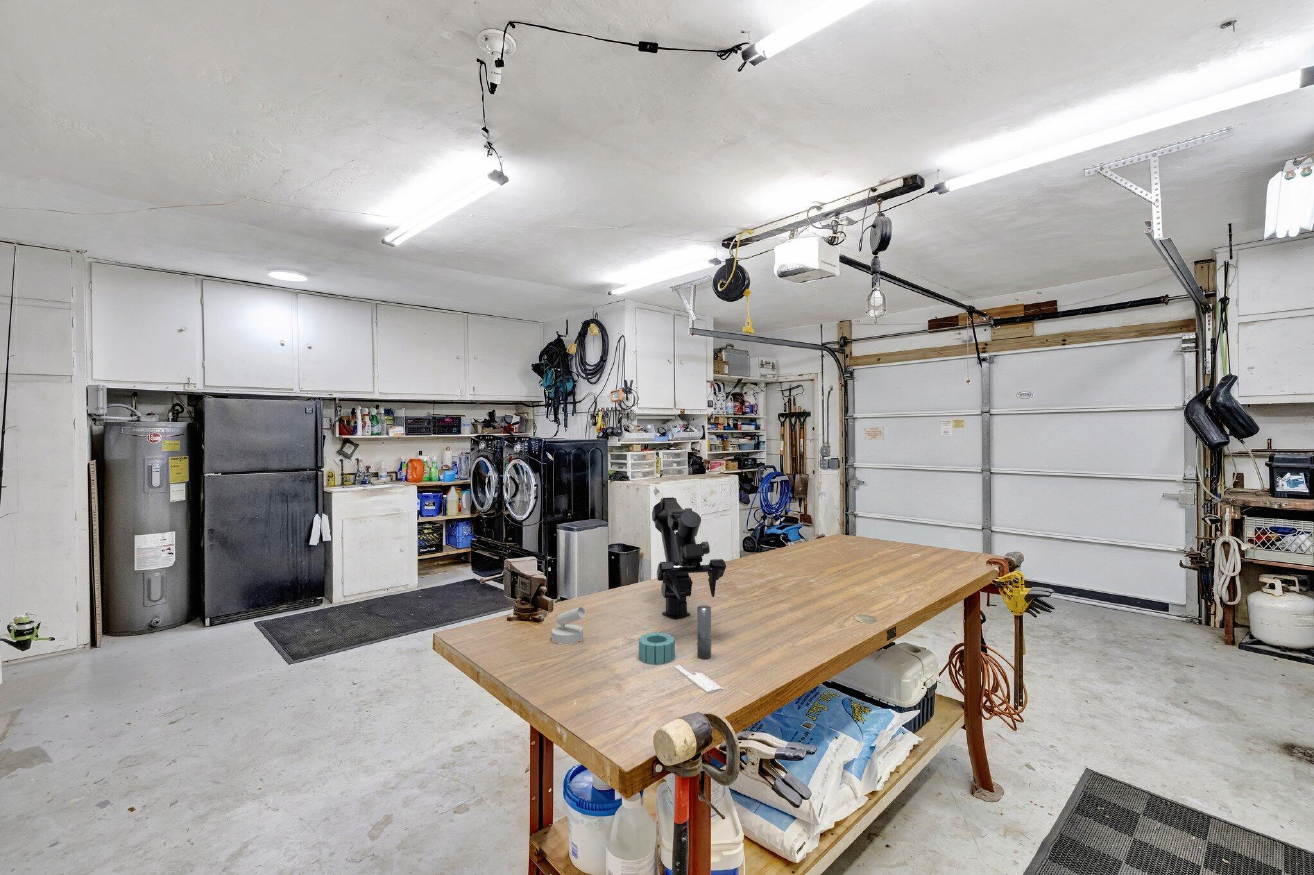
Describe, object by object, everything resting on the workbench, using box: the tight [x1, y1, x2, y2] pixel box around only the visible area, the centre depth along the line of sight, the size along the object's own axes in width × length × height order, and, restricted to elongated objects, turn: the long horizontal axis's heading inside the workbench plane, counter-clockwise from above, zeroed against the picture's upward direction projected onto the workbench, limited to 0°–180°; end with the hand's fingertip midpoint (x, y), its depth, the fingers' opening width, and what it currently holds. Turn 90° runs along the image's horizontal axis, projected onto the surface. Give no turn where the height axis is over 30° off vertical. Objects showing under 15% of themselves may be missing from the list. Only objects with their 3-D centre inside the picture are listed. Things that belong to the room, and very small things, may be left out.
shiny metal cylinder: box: [696, 604, 712, 660], centre depth 140 cm, size 4×4×12 cm
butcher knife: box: [673, 664, 725, 695], centre depth 128 cm, size 5×15×1 cm, turn 27°
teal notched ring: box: [638, 632, 676, 665], centre depth 140 cm, size 9×9×4 cm
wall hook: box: [551, 606, 586, 645], centre depth 153 cm, size 9×10×10 cm
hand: (696, 597), depth 147 cm, fingers open, 9 cm apart
